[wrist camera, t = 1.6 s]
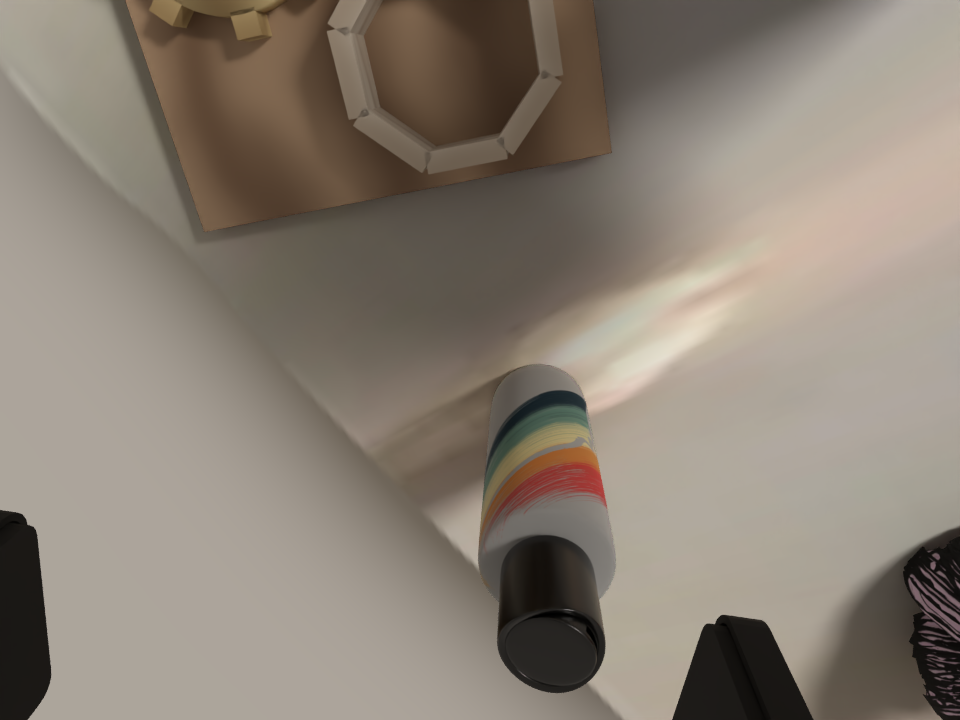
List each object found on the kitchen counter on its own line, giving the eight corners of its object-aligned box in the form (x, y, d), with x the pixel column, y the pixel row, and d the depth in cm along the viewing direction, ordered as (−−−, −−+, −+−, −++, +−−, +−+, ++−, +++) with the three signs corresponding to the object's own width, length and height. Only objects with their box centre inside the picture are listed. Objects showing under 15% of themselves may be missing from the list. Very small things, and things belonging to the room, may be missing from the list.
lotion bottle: (597, 431, 43) (655, 701, 24) (509, 457, 44) (501, 735, 25) (569, 349, 41) (609, 574, 23) (477, 378, 42) (444, 616, 24)
